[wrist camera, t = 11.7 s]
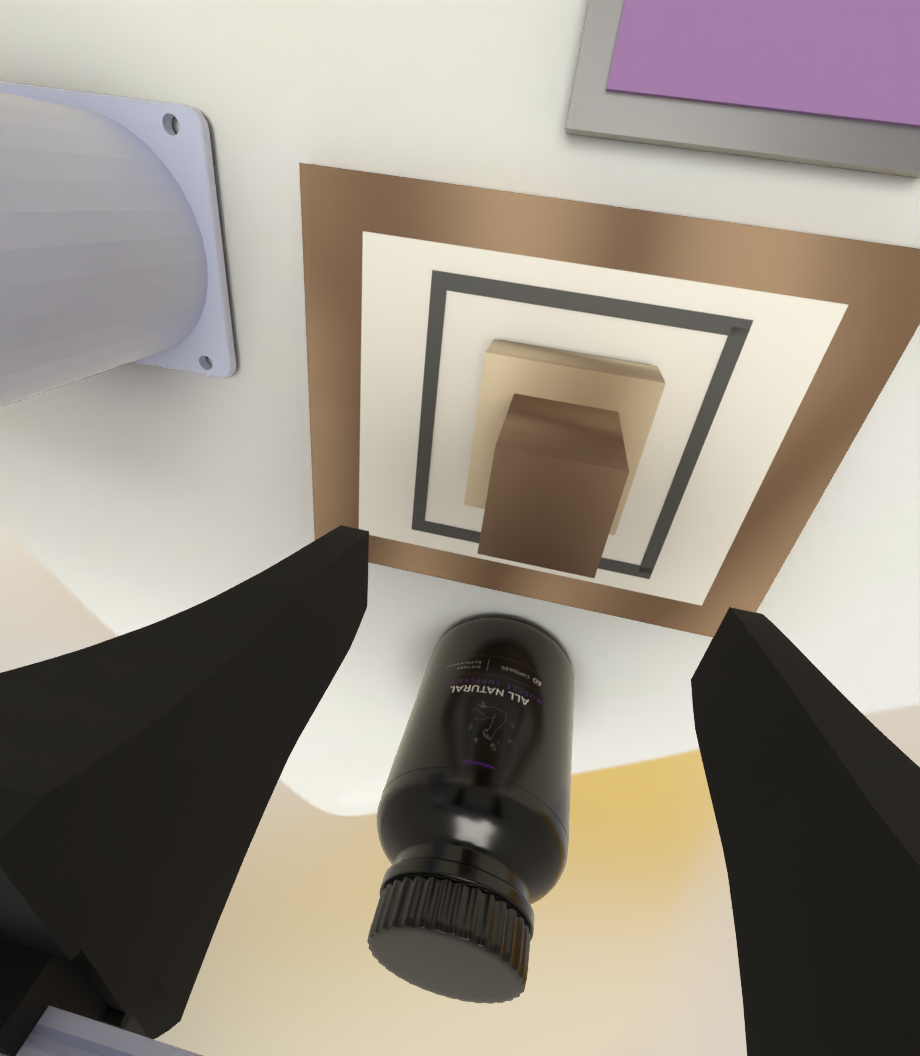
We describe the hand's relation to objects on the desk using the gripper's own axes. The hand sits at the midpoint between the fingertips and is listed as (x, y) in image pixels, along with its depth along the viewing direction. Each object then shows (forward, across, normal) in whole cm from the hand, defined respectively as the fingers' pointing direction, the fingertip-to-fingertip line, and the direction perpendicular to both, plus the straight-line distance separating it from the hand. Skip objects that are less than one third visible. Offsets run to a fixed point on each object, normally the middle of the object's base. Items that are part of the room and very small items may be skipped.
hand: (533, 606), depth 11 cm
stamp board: (+10, 0, 0) cm, 10 cm away
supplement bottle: (+10, 0, +12) cm, 15 cm away
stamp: (+9, 0, -1) cm, 9 cm away
